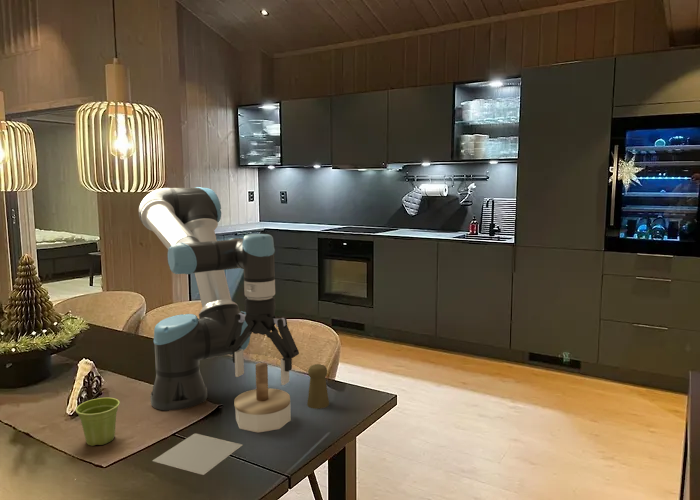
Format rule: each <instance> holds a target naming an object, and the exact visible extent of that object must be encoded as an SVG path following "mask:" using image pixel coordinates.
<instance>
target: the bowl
mask: <svg viewBox="0 0 700 500" xmlns="http://www.w3.org/2000/svg"><path fill="white" fill-rule="evenodd" d="M234 409H235V421H236V423H237V426H238V429H239V430H243V431H249V432H254V433H263V432H269V431H274V430H280V429H282V428H283V427H284V426H285V425H286V424H287V423H289V422H291V417H292V416H291V413H292V412H291V403H290V404H289V405H288V406H287V407H286V408H285V409H283V410H281V411H278V412H275V413H270V414H262V415H253V414H246V413H242V412H240V411H238V410H237V409H236V408H235V407H234Z"/></svg>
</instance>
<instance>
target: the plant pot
mask: <svg viewBox="0 0 700 500" xmlns="http://www.w3.org/2000/svg"><path fill="white" fill-rule="evenodd" d="M120 402H121V401H120V400H119V399H117V398H114V397H99V398H94V399H93V398H92V399H90V400H87V401H84V402H82V403H80V404H79V405H78V406H76V407H75V412H76V415H78V418H80V422H81V425H82V430H83V434H84V439H85V442H86V444H87V445H88V446H96V445H99V446H103V445H106V444H109V443H110V442H112V441H114V438H115V436H116V434H115V433H116V422H117V421H116V419H117V412H118V410H119V409H118V408H119V406H120Z"/></svg>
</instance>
